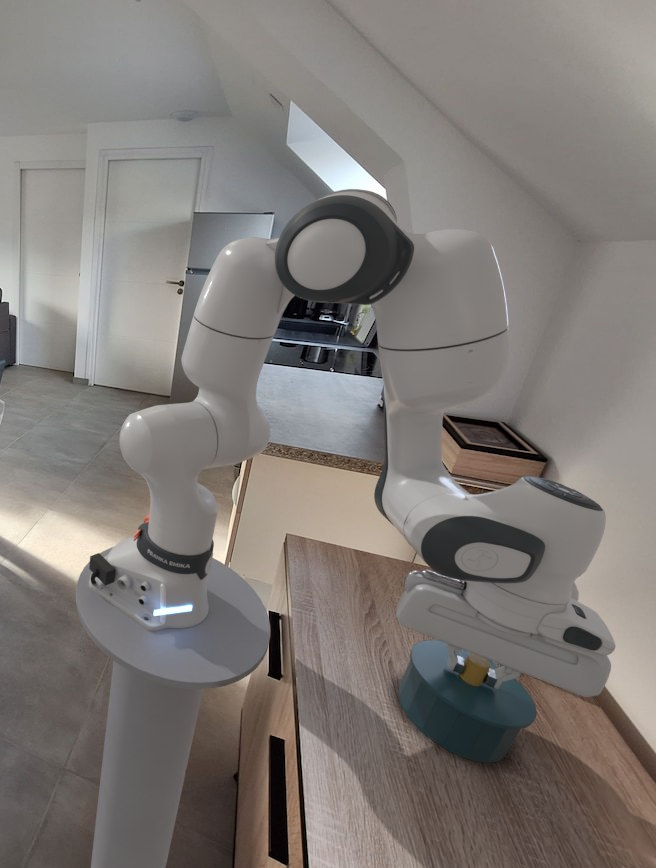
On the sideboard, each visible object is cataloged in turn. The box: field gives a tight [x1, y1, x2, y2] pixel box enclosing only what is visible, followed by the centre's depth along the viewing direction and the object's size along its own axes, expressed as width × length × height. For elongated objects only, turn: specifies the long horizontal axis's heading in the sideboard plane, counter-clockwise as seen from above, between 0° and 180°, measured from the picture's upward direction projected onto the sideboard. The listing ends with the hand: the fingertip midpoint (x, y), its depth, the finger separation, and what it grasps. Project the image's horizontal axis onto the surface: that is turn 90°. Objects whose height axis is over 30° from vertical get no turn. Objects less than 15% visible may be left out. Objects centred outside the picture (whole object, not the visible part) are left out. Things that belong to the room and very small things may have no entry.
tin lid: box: [409, 639, 537, 730], centre depth 63 cm, size 13×13×5 cm
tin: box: [397, 660, 522, 764], centre depth 65 cm, size 12×12×8 cm
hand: (471, 676), depth 63 cm, fingers closed on tin lid, 2 cm apart
